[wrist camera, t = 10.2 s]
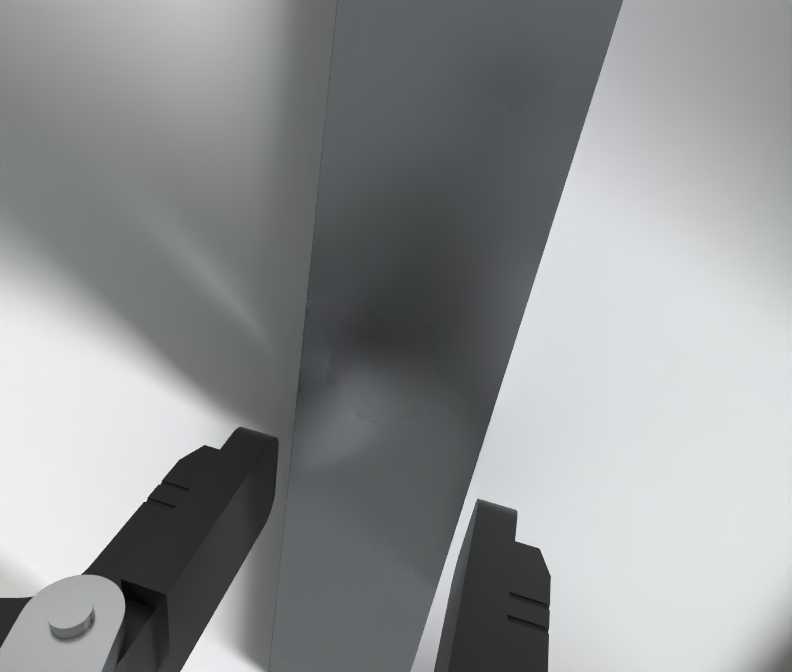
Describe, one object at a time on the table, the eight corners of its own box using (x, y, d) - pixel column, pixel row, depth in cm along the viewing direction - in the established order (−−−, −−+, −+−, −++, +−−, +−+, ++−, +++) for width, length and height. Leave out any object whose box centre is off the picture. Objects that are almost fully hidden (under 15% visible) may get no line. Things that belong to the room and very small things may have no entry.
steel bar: (419, -148, 8) (358, -212, 6) (636, -111, 8) (674, -161, 6) (299, 665, 19) (258, 771, 16) (393, 696, 18) (366, 810, 16)
